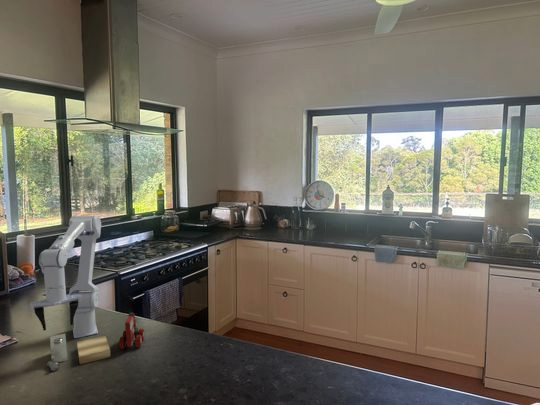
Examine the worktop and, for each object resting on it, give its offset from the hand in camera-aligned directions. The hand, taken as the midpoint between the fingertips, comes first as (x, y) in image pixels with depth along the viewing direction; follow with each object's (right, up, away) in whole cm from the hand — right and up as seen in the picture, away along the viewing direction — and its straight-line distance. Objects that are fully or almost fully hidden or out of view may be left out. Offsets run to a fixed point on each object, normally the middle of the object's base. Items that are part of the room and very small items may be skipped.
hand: (58, 326), depth 125 cm
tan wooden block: (+10, -10, +4) cm, 14 cm away
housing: (0, -10, +1) cm, 11 cm away
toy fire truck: (+21, -9, +10) cm, 25 cm away
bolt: (+1, -11, -6) cm, 12 cm away
